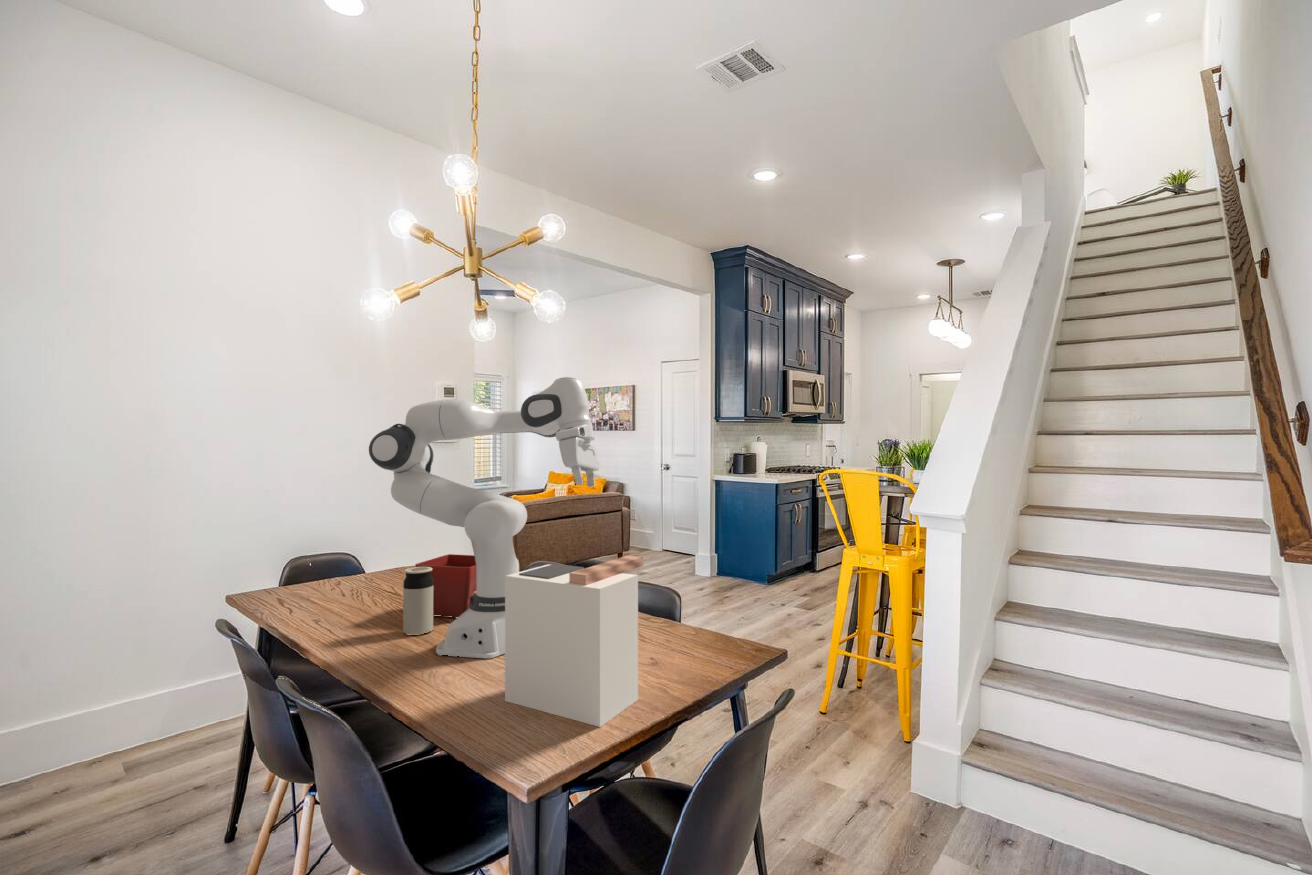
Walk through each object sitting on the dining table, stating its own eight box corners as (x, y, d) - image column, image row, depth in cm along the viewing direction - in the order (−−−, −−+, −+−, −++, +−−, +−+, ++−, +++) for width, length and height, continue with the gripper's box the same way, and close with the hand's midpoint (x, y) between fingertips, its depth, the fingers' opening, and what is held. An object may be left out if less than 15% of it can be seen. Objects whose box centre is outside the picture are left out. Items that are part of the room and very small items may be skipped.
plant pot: (499, 606, 198) (499, 555, 198) (469, 623, 179) (469, 567, 180) (448, 603, 202) (448, 553, 203) (413, 619, 184) (413, 564, 184)
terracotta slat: (628, 564, 137) (628, 555, 137) (643, 565, 135) (643, 556, 135) (569, 583, 118) (569, 573, 118) (585, 585, 116) (585, 575, 116)
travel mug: (438, 628, 174) (438, 566, 175) (424, 636, 166) (425, 572, 167) (412, 627, 175) (412, 566, 175) (397, 636, 167) (398, 571, 167)
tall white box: (548, 678, 136) (548, 562, 137) (638, 699, 125) (637, 573, 125) (505, 700, 124) (505, 574, 125) (600, 726, 112) (599, 587, 113)
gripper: (578, 442, 171) (586, 489, 169) (552, 433, 152) (561, 486, 149) (599, 438, 170) (608, 485, 168) (576, 427, 151) (585, 481, 148)
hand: (585, 485), depth 159 cm, fingers open, 8 cm apart
